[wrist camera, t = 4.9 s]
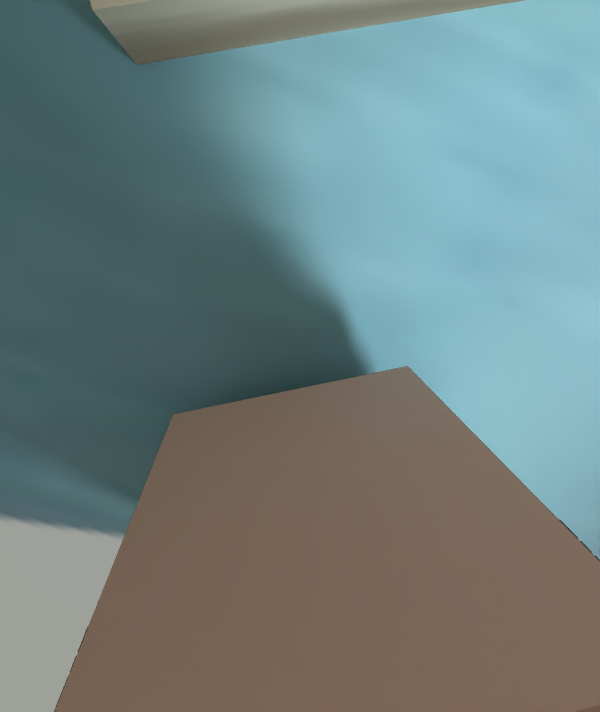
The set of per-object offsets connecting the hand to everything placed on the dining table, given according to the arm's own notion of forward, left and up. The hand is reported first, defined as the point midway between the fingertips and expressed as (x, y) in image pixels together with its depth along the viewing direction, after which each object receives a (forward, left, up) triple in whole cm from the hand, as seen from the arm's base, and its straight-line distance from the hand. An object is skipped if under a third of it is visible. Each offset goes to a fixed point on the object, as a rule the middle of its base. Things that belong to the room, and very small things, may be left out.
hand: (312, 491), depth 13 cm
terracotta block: (0, 0, 0) cm, 0 cm away
